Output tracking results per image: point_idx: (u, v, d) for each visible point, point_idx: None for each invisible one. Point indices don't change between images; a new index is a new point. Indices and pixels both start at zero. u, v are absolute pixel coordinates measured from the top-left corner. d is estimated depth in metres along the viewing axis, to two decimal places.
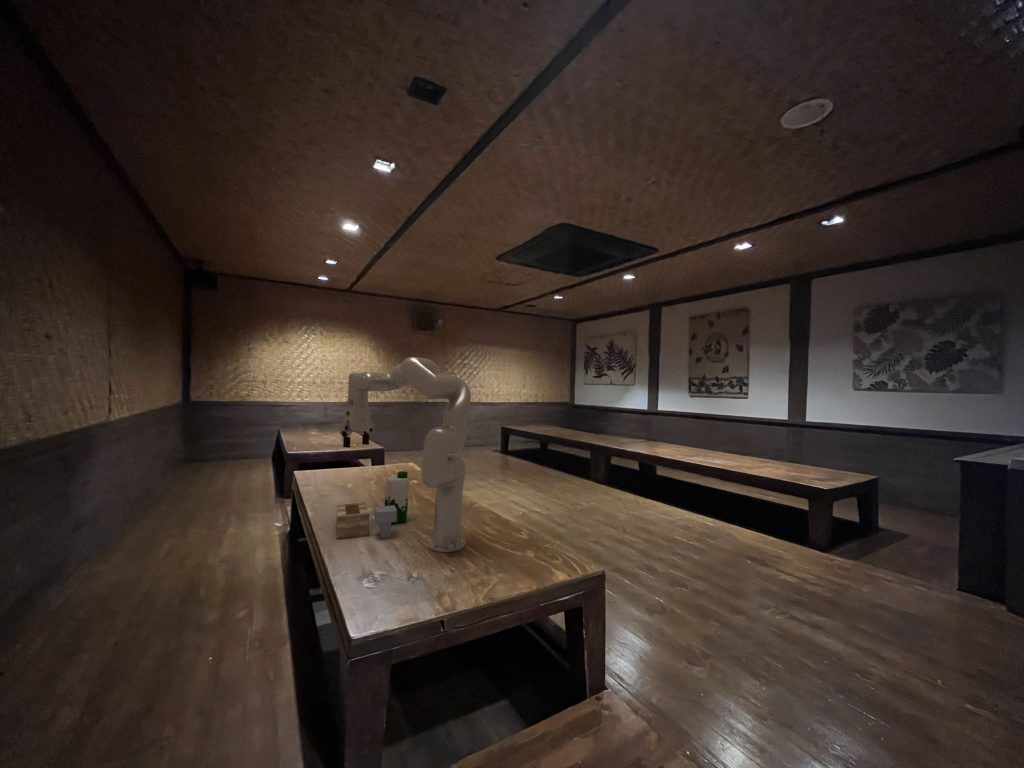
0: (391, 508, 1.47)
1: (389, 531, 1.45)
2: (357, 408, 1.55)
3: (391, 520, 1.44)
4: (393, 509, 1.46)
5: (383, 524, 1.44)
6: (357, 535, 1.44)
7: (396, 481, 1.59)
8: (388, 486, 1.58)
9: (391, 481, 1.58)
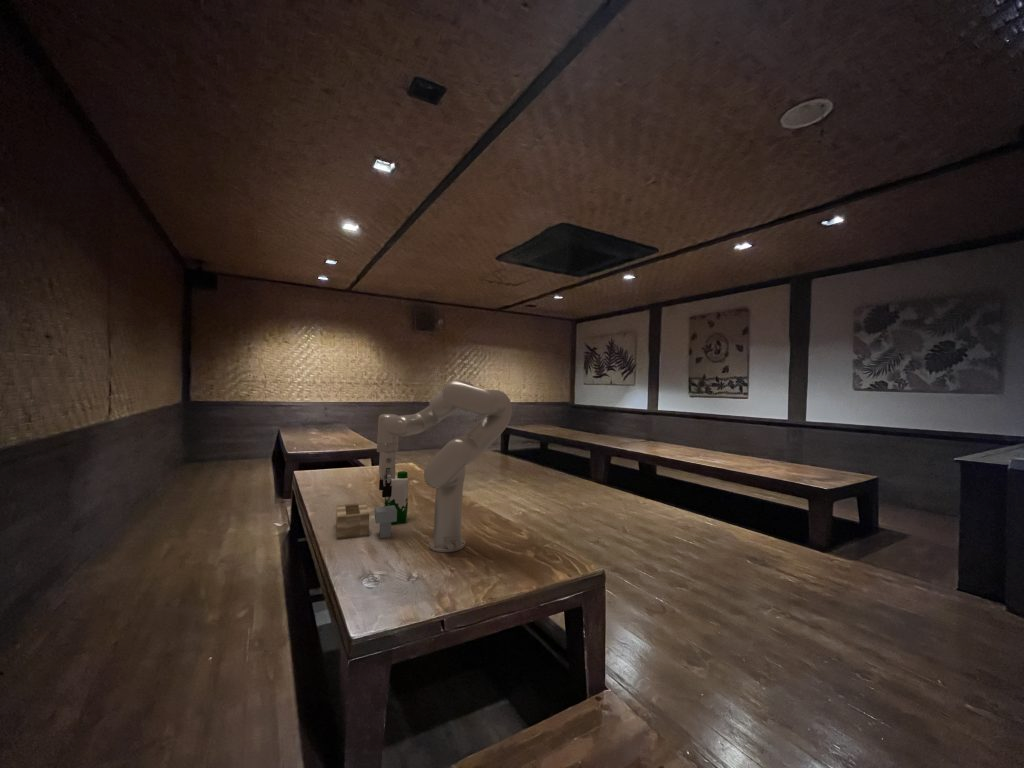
0: (391, 508, 1.47)
1: (389, 531, 1.45)
2: None
3: (391, 520, 1.44)
4: (393, 509, 1.46)
5: (383, 524, 1.44)
6: (357, 535, 1.44)
7: (396, 481, 1.59)
8: None
9: None
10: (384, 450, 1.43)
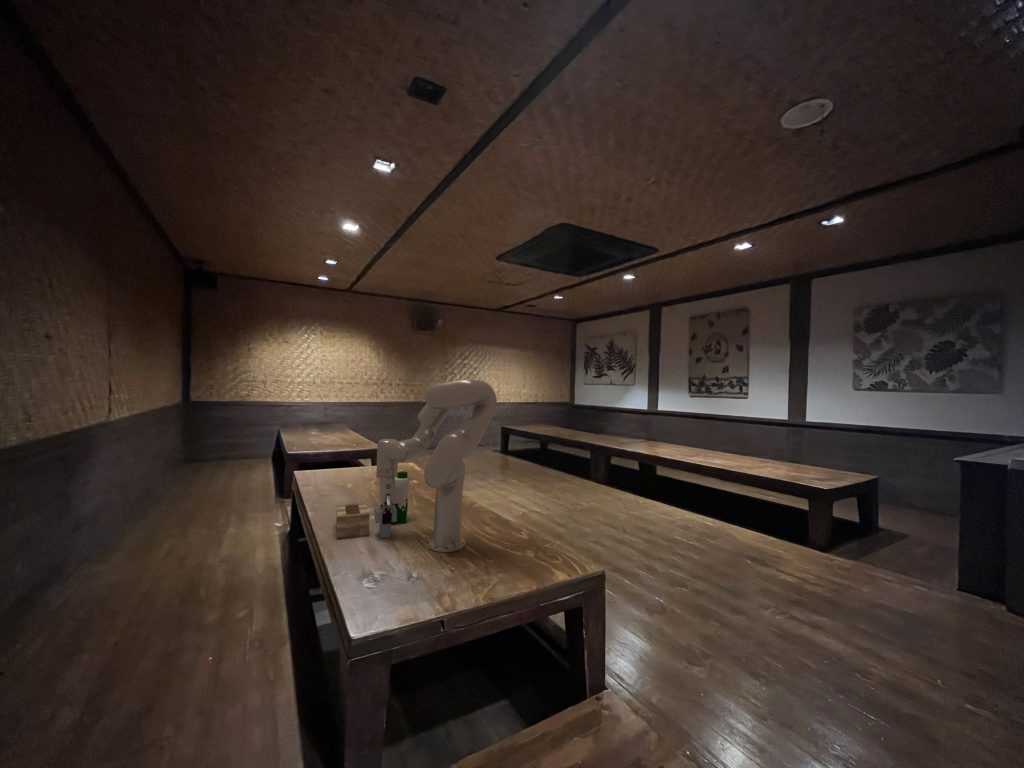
0: (391, 508, 1.47)
1: (389, 531, 1.45)
2: (394, 478, 1.45)
3: None
4: (393, 509, 1.46)
5: None
6: (357, 535, 1.44)
7: (396, 481, 1.59)
8: None
9: None
10: (384, 476, 1.43)
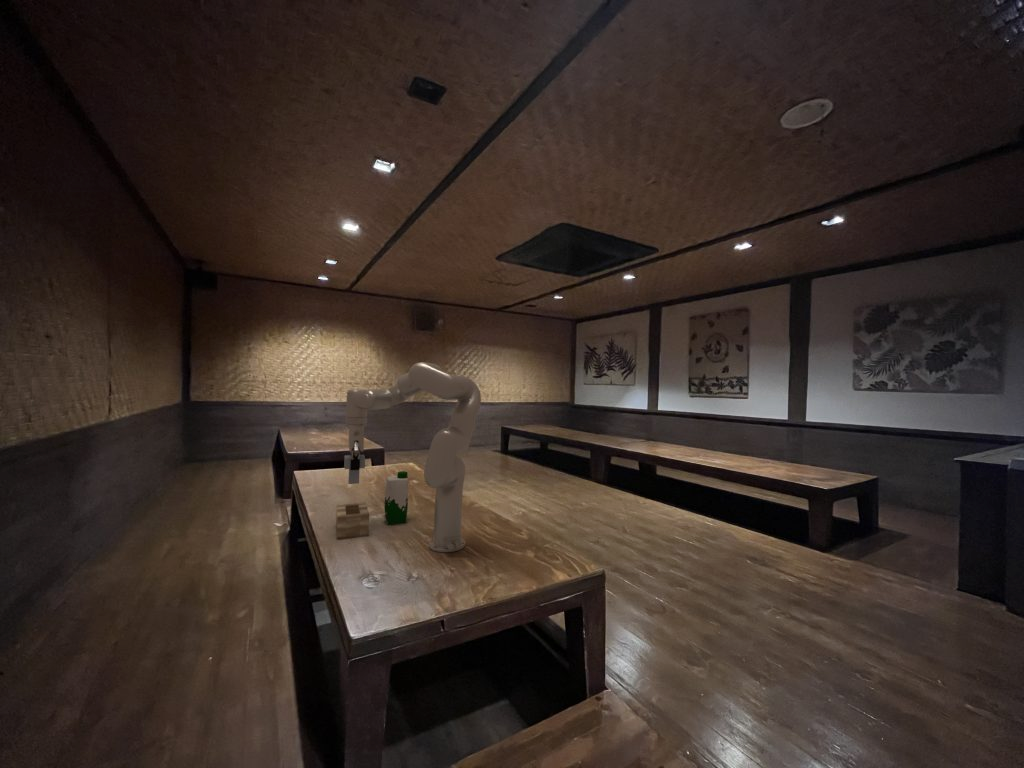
0: (360, 456, 1.52)
1: (357, 478, 1.50)
2: (363, 427, 1.50)
3: None
4: (361, 456, 1.51)
5: (351, 470, 1.49)
6: (357, 535, 1.44)
7: (396, 481, 1.59)
8: (388, 486, 1.58)
9: (391, 481, 1.58)
10: (352, 423, 1.48)
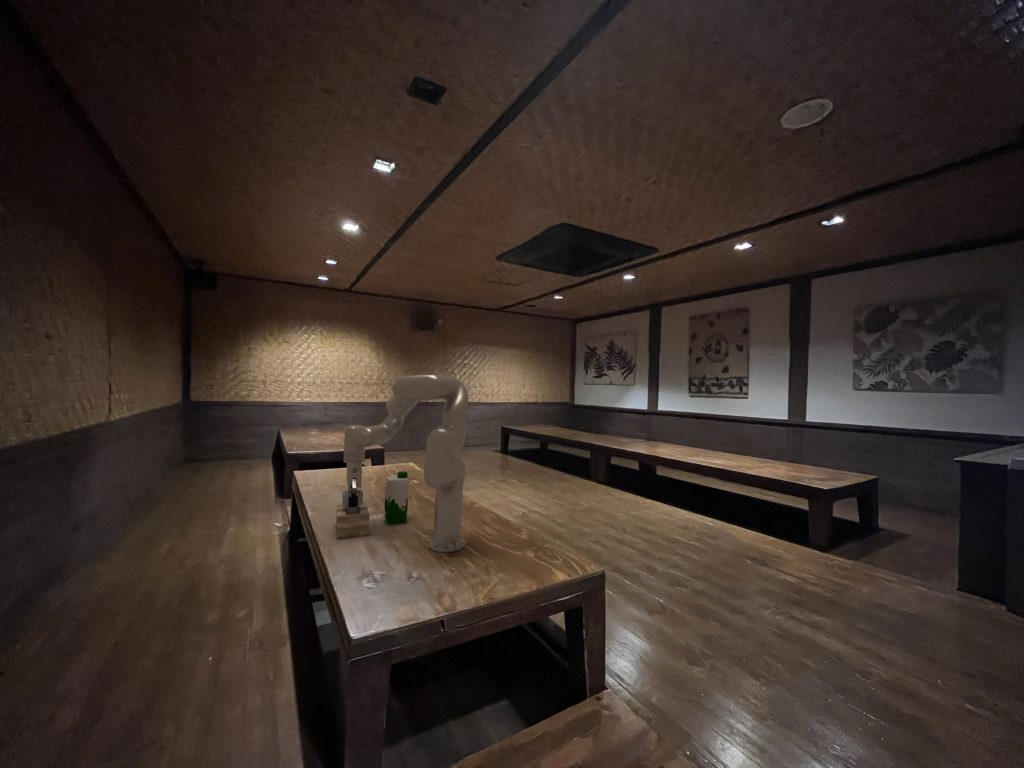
0: (358, 492, 1.52)
1: None
2: (361, 463, 1.50)
3: None
4: (360, 493, 1.51)
5: (349, 507, 1.49)
6: (357, 535, 1.44)
7: (396, 481, 1.59)
8: (388, 486, 1.58)
9: (391, 481, 1.58)
10: (350, 460, 1.47)
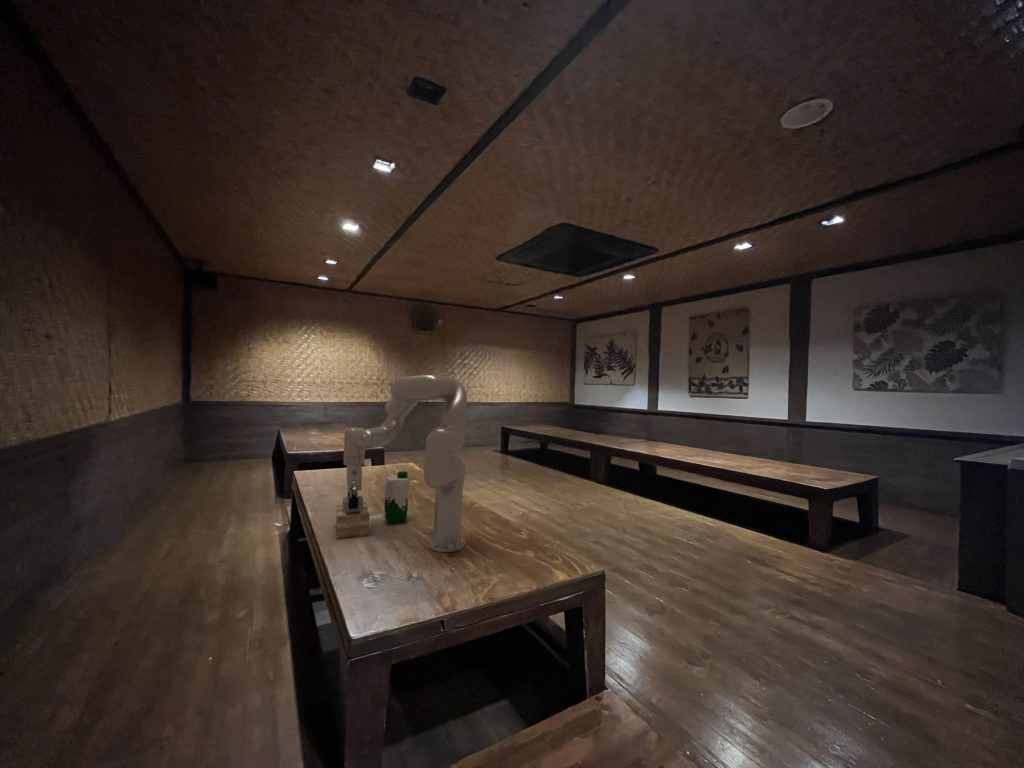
0: (358, 498, 1.52)
1: None
2: (361, 465, 1.50)
3: (357, 510, 1.48)
4: (360, 499, 1.51)
5: None
6: (357, 535, 1.44)
7: (396, 481, 1.59)
8: (388, 486, 1.58)
9: (391, 481, 1.58)
10: (350, 463, 1.47)
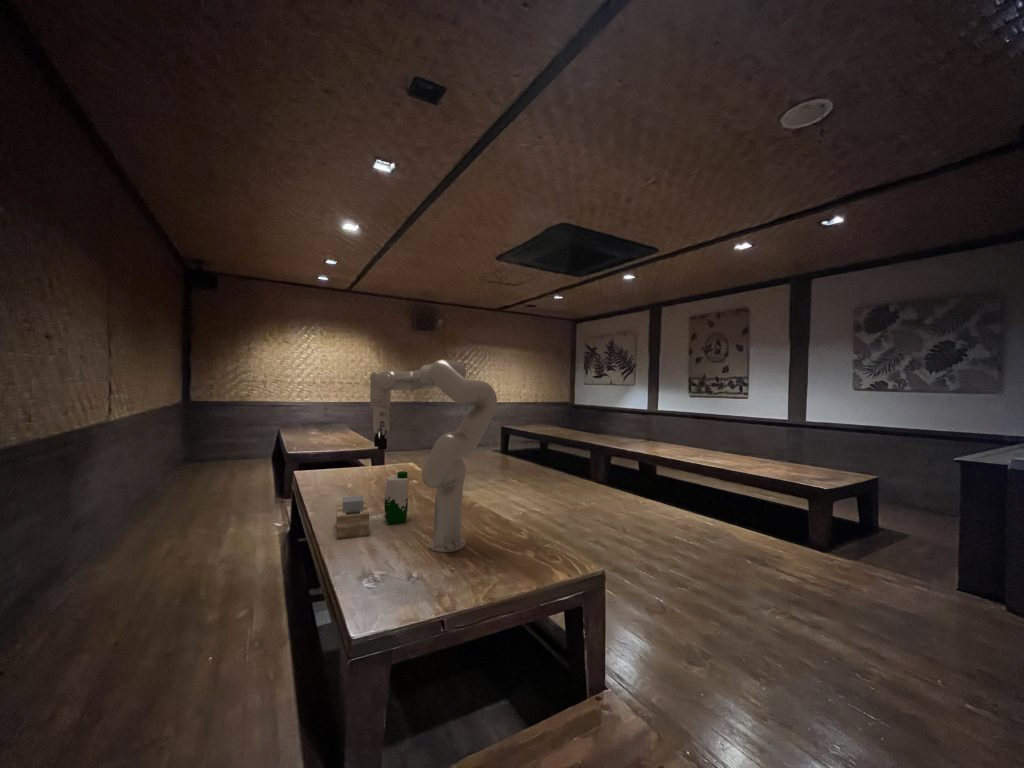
0: (358, 498, 1.52)
1: None
2: None
3: (357, 510, 1.48)
4: (360, 499, 1.51)
5: None
6: (357, 535, 1.44)
7: (396, 481, 1.59)
8: (388, 486, 1.58)
9: (391, 481, 1.58)
10: (377, 405, 1.49)
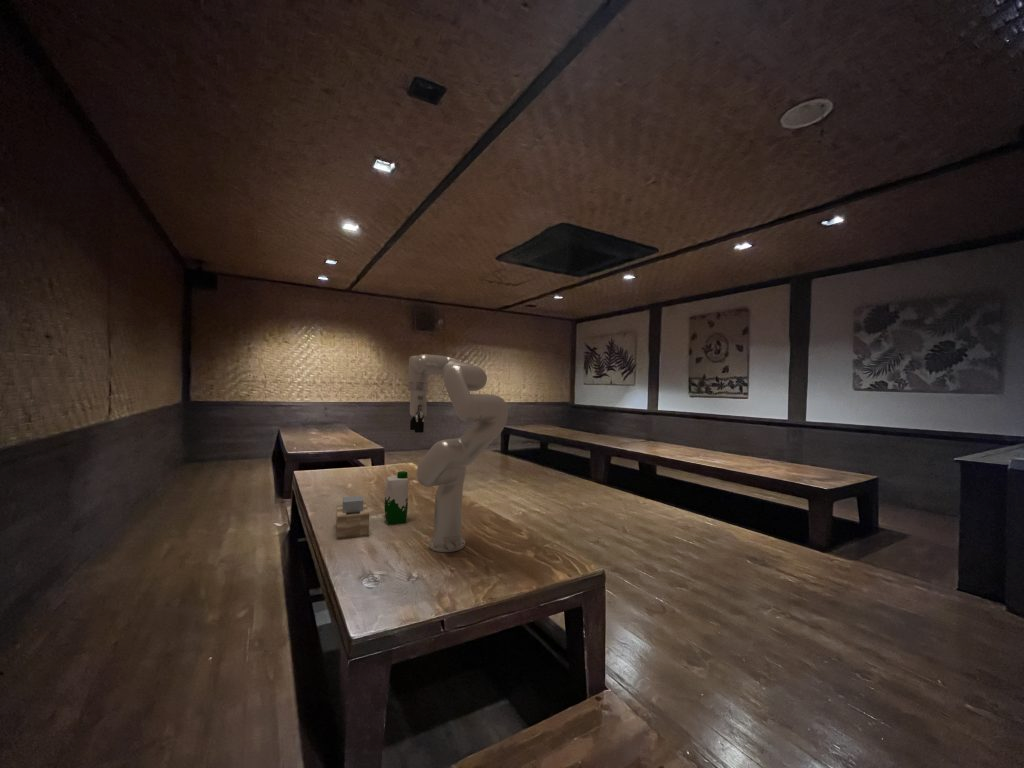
0: (358, 498, 1.52)
1: None
2: None
3: (357, 510, 1.48)
4: (360, 499, 1.51)
5: None
6: (357, 535, 1.44)
7: (396, 481, 1.59)
8: (388, 486, 1.58)
9: (391, 481, 1.58)
10: (415, 388, 1.51)
